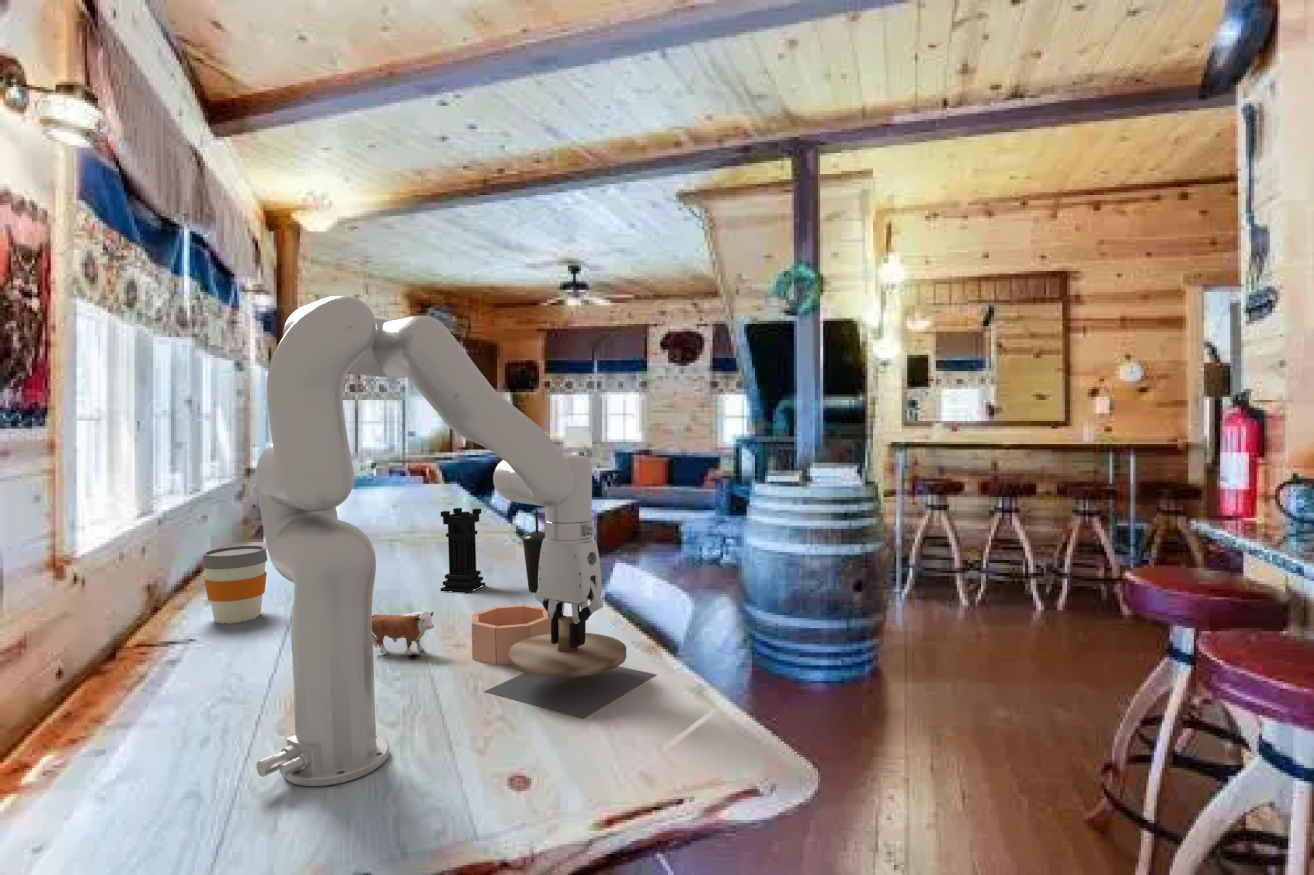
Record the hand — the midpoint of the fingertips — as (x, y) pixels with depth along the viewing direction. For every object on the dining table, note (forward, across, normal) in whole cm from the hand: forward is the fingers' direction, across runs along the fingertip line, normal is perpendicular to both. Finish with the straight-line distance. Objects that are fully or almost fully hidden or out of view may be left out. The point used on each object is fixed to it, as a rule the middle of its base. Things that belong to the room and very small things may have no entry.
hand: (568, 642), depth 120 cm
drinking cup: (+7, +47, -46) cm, 66 cm away
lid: (+2, 0, 0) cm, 2 cm away
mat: (+7, 0, -1) cm, 7 cm away
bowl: (+7, +20, -8) cm, 22 cm away
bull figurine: (+8, +38, +2) cm, 39 cm away
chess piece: (+7, +65, -38) cm, 75 cm away
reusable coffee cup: (+8, +90, +5) cm, 90 cm away
